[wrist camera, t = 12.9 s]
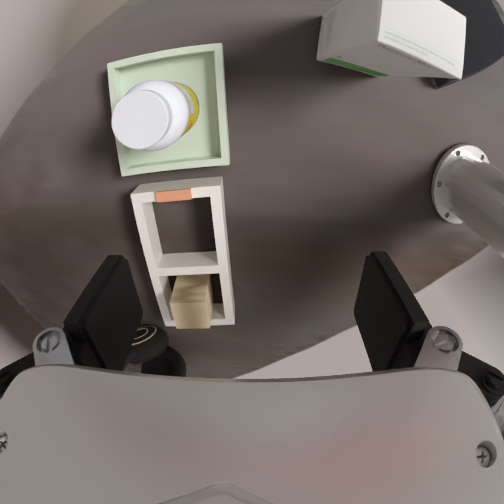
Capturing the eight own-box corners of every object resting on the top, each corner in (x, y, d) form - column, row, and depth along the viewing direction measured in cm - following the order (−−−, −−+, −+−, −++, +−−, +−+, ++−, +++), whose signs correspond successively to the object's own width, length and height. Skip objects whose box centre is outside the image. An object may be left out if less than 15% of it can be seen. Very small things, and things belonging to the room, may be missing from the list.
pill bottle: (146, 138, 31) (104, 165, 21) (143, 85, 27) (97, 86, 17) (201, 135, 31) (181, 158, 21) (200, 79, 27) (179, 74, 17)
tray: (223, 46, 26) (221, 43, 24) (230, 159, 33) (229, 164, 31) (115, 64, 26) (107, 63, 24) (128, 170, 33) (121, 176, 31)
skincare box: (314, 60, 27) (369, 42, 14) (321, 11, 24) (378, -34, 10) (380, 78, 28) (463, 84, 15) (387, 32, 25) (469, 15, 11)
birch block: (209, 269, 41) (205, 302, 35) (213, 294, 43) (209, 328, 37) (178, 270, 41) (169, 303, 35) (183, 295, 43) (176, 328, 37)
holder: (222, 176, 34) (219, 186, 31) (234, 308, 45) (234, 326, 42) (139, 184, 34) (129, 195, 31) (169, 310, 45) (164, 328, 42)
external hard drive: (385, 8, 23) (400, 2, 20) (466, -20, 18) (483, -23, 14) (434, 93, 29) (452, 97, 25) (504, 53, 23) (521, 54, 20)
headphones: (156, 367, 53) (139, 458, 36) (117, 314, 45) (79, 415, 28) (196, 362, 52) (186, 460, 35) (160, 305, 44) (131, 418, 27)
